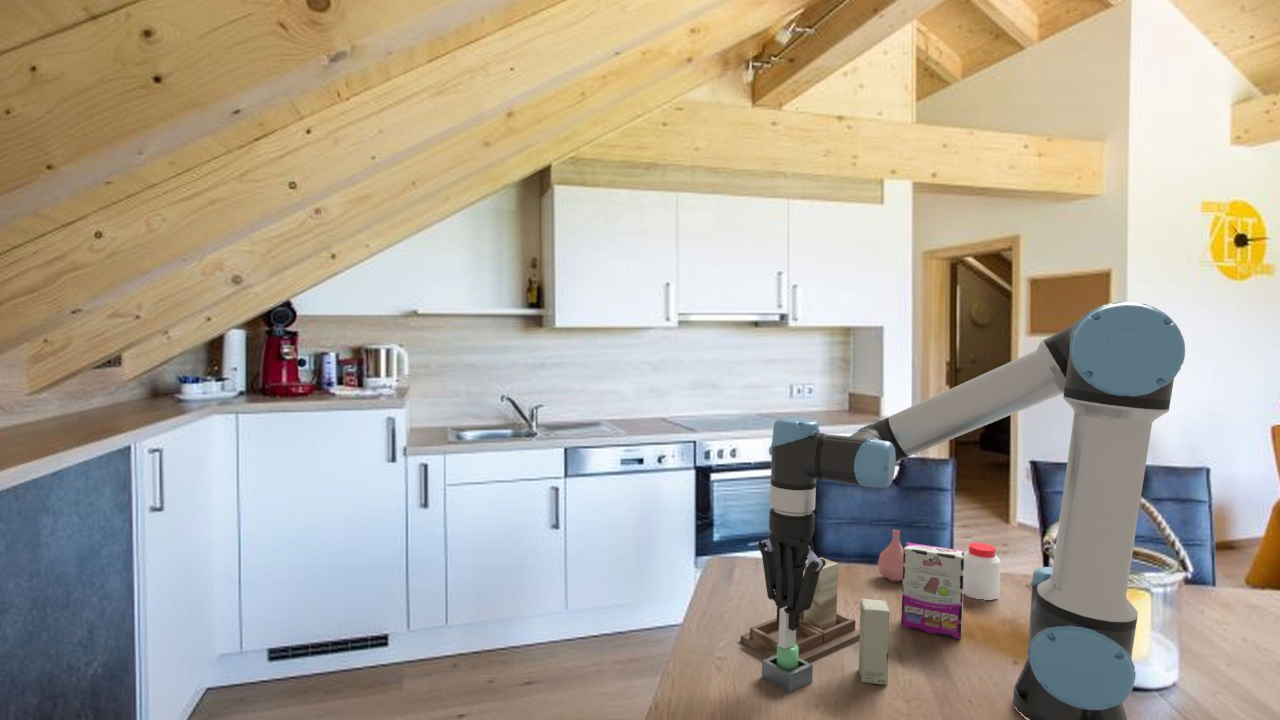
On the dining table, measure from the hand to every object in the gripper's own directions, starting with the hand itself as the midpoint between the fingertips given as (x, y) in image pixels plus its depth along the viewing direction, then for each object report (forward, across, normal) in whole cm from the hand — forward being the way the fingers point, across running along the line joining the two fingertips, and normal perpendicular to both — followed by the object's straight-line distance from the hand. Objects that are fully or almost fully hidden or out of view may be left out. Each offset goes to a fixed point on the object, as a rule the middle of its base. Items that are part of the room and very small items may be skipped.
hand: (787, 645), depth 115 cm
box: (+6, -8, -13) cm, 17 cm away
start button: (+4, 0, 0) cm, 4 cm away
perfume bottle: (+6, +15, -56) cm, 58 cm away
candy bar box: (+6, -4, -39) cm, 40 cm away
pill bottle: (+6, -1, -65) cm, 65 cm away
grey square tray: (+6, 0, 0) cm, 6 cm away
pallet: (+6, +8, -14) cm, 17 cm away
